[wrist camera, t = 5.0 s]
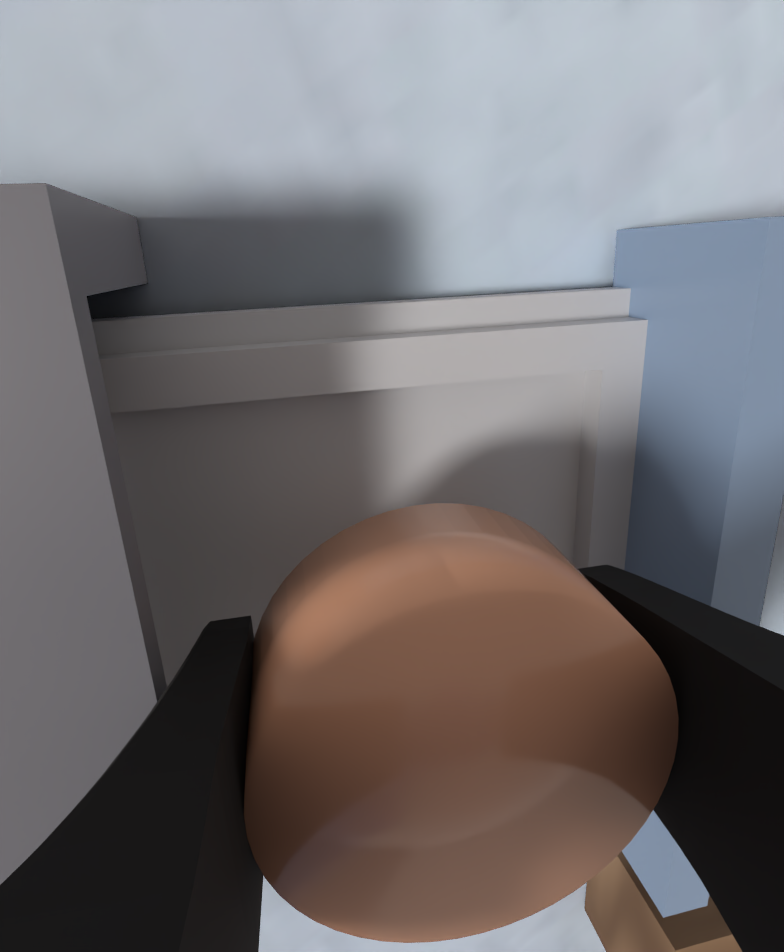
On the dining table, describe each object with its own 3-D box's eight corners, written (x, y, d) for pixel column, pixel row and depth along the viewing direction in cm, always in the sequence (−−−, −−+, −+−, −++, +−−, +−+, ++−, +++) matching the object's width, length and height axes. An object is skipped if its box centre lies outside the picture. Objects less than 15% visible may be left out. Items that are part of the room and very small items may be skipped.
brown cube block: (694, 880, 18) (788, 1012, 15) (584, 909, 18) (658, 1053, 15) (710, 788, 17) (816, 910, 14) (592, 815, 17) (675, 950, 13)
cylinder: (583, 756, 11) (663, 885, 9) (280, 826, 10) (283, 985, 8) (592, 476, 9) (697, 549, 7) (218, 536, 8) (199, 642, 6)
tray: (612, 769, 16) (707, 905, 12) (167, 867, 14) (139, 1059, 10) (666, 227, 11) (835, 214, 8) (23, 255, 9) (-103, 253, 6)
